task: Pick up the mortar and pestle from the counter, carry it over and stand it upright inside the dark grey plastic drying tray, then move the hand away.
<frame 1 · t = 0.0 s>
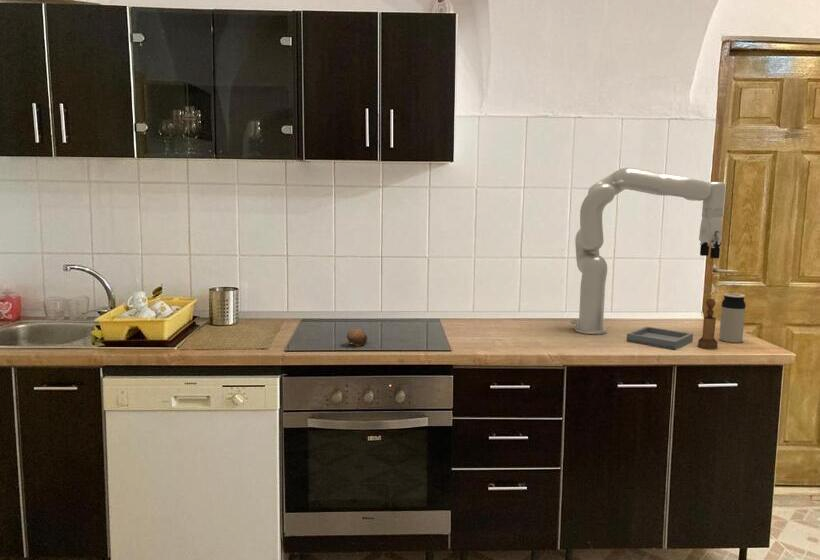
hand: (709, 256, 242), 31 cm above the countertop, fingers open, 9 cm apart
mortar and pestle: (707, 347, 225), on the countertop
drying tray: (659, 341, 233), on the countertop
mushroom: (357, 345, 225), on the countertop
travel mug: (730, 341, 235), on the countertop
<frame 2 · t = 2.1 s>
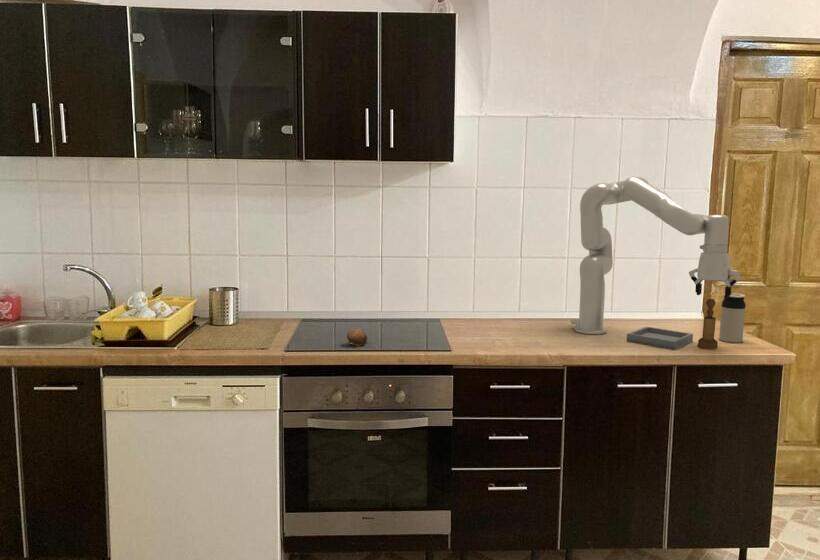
hand: (712, 296, 222), 19 cm above the countertop, fingers open, 9 cm apart
nothing on the countertop moved.
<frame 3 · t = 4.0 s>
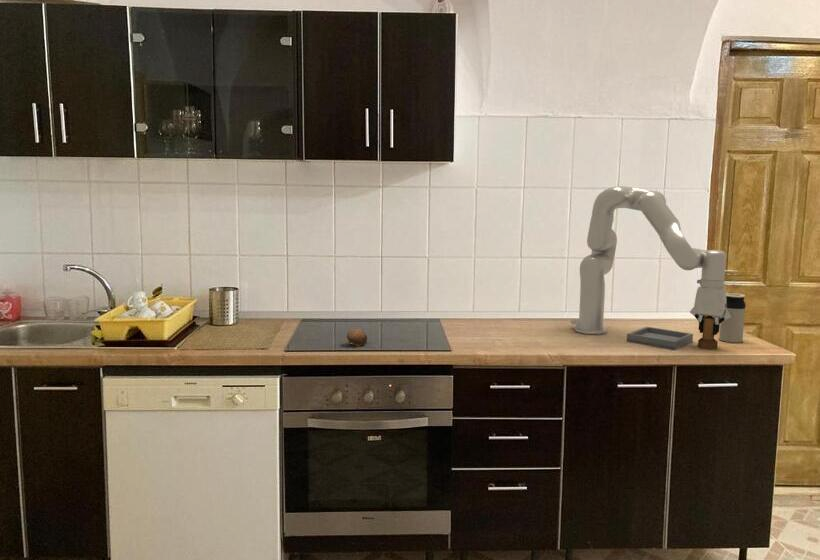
hand: (708, 332, 224), 5 cm above the countertop, fingers closed on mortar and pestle, 4 cm apart
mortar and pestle: (707, 347, 225), on the countertop, touching gripper
everything else where it was.
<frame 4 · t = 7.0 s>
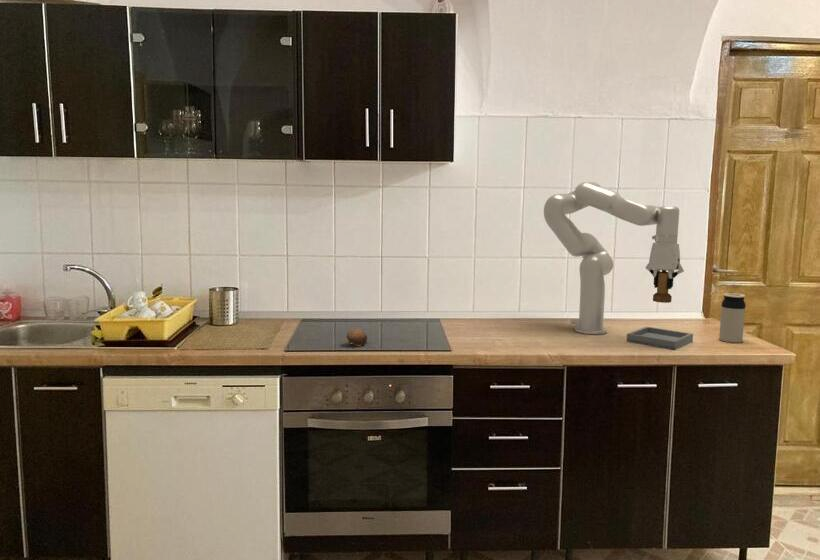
hand: (663, 287, 230), 21 cm above the countertop, fingers closed on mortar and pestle, 4 cm apart
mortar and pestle: (661, 301, 231), point 15 cm above the countertop, touching gripper
everything else where it was.
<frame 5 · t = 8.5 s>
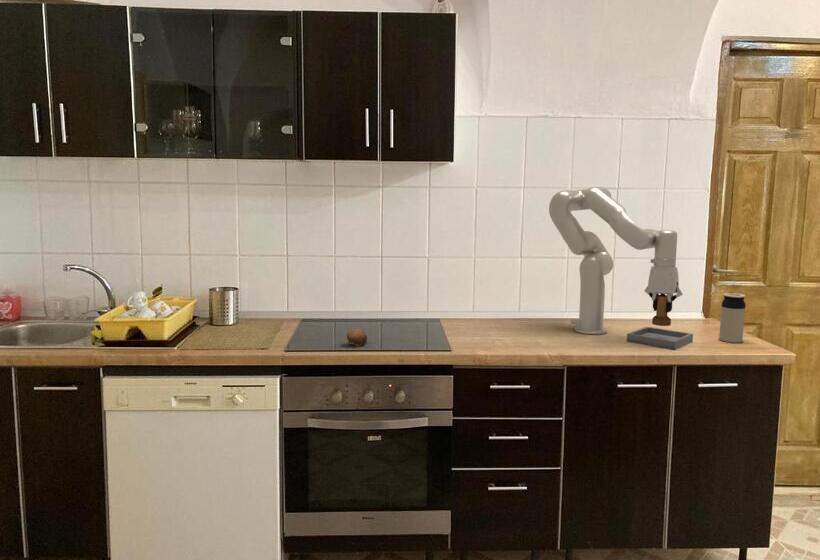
hand: (662, 310, 231), 12 cm above the countertop, fingers closed on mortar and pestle, 4 cm apart
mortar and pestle: (661, 324, 232), point 7 cm above the countertop, touching gripper
everything else where it was.
when the fingers open (8 cm above the countertop, at t = 10.0 s): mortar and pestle drops 2 cm, resting on drying tray.
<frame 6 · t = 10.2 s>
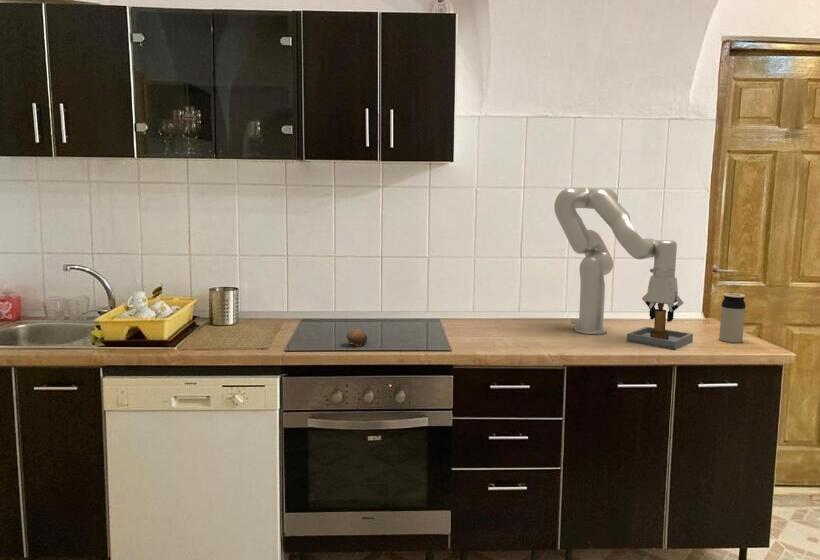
hand: (661, 319, 232), 9 cm above the countertop, fingers open, 5 cm apart
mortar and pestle: (659, 339, 233), point 1 cm above the countertop, touching drying tray
everything else where it was.
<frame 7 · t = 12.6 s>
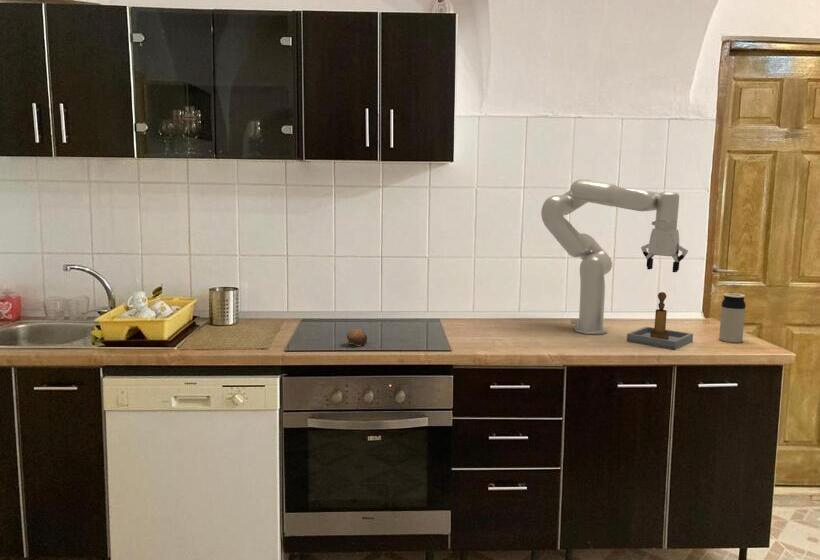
hand: (662, 270, 231), 27 cm above the countertop, fingers open, 9 cm apart
nothing on the countertop moved.
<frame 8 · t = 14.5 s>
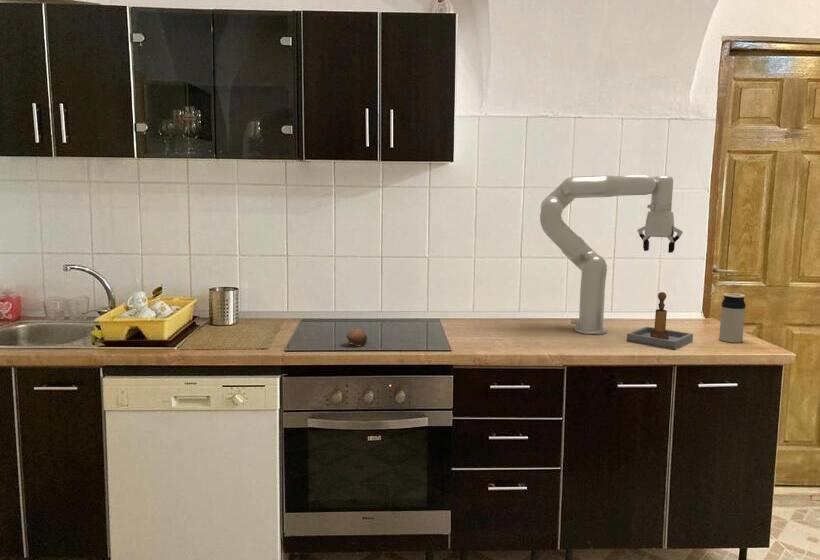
hand: (658, 251, 241), 33 cm above the countertop, fingers open, 9 cm apart
nothing on the countertop moved.
at the end: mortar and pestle inside the target area on the drying tray (0.2 cm from its centre), point 0.8 cm above the drying tray's base; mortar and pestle tilted 0°; the gripper is holding nothing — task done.
